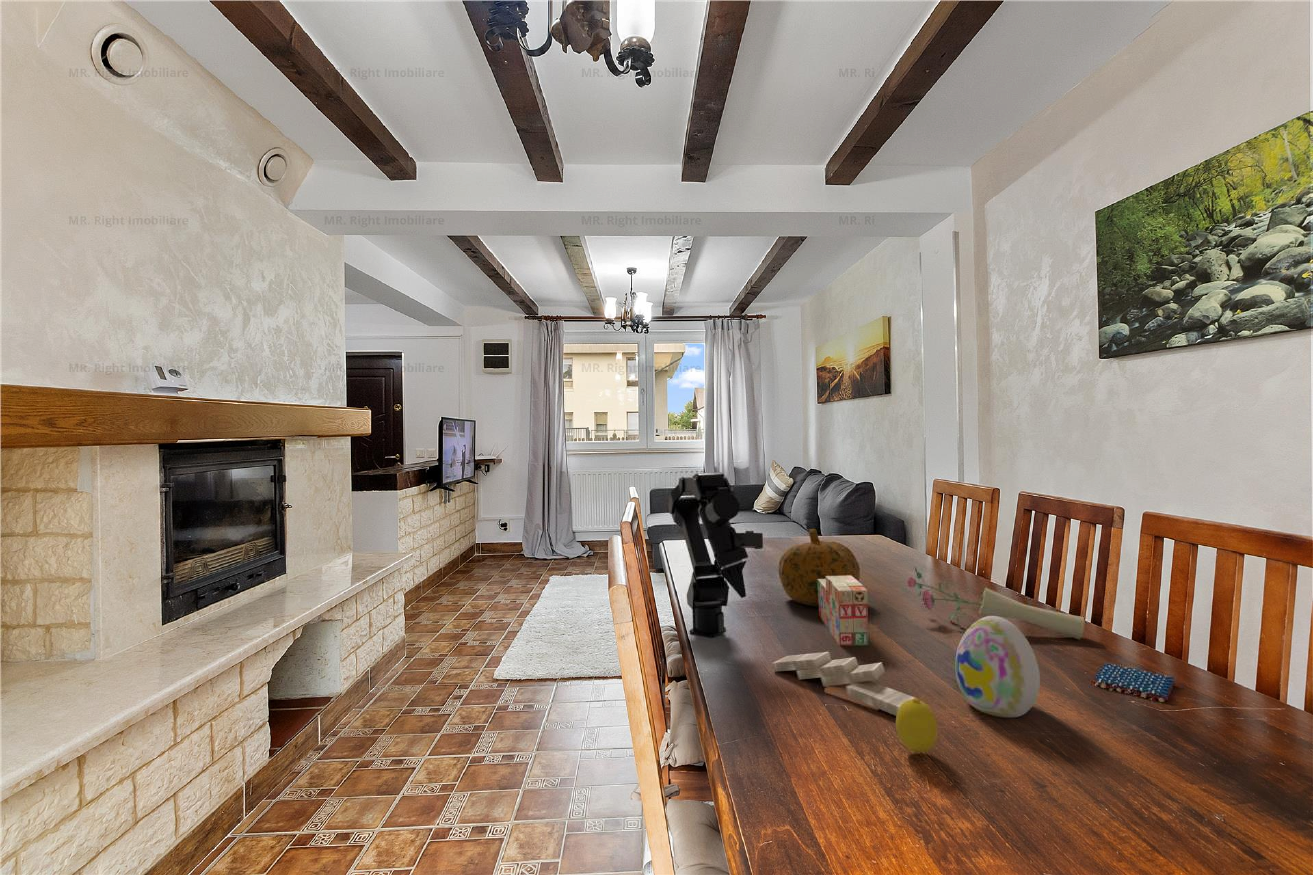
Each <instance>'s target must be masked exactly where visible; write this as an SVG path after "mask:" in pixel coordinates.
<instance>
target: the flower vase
mask: <svg viewBox="0 0 1313 875" xmlns="http://www.w3.org/2000/svg"><path fill="white" fill-rule="evenodd" d="M914 570H915V573H916V578H917V579H918V580H920V579H922V581H923V583H919V582H917V581H916V578H915V577H912V576H910V577H908V578H907V579H908V580H907V583H906V585H907V586H908V587H909V589H912V588H918V590H919V593H918V595H917V596H918V597H921V596H922V598H921V599H922V601H923V605H924V607H925V608H926V609H927V610H929V611H930V612H931V611H932V608H933V607H936V605H935V601H945V602H946V603H948V601H949V602H957V606H956V611H955V613H952V614H951V616H950V620H949V622H951V621H952V619H954V618H955V617H956V622H957V624H958V628H961V627H960V623H959V621H960V620H961V618H962V617H963V616H964V615H966V614H968V612H967V613H966V612H965V613H962V615H961V616H960V615H957V614H960V613H961V610H963V609H965V607H964V606H962V607H961V605H960V603H964V604H965V606H967V605H969V604H970V605H977V606H976V607H973V610H972V611H971V612H969V613H970V614H971V613H972V612H974V611H975V609H976V608H978V607H979V615H986V616H998V617H1001V618H1005V619H1006V618H1008V619H1015V620H1021V621H1024V622H1027V623H1030V624H1033V625H1036V626H1039V627H1042V628H1045V629H1049V630H1052V631H1054V632H1057V633H1060V634H1062V635H1065V636H1067V637H1070V638H1073V639H1075V640H1078V641H1079V640H1081V638H1082V636H1083V635H1084V634H1083V633H1084V631H1085V625H1086V624H1085V618H1084V616H1079V615H1073V614H1068V613H1063V612H1058V611H1054V610H1049V609H1045V608H1040V607H1036V606H1032V605H1027V604H1025V603H1022V602H1019V601H1017V600H1014V599H1012V598H1010V597H1008V596H1005V595H1003V594H1002V593H1000V592H996V591H995V590H992V589H989V588H988V587H985V588H984V591H983V593H982V595H981V598H980V603H979V602H972V601H968V600H965V599H964V598H960V597H961V595H960V594H958V593H957V592H955V591H953V595H952V594H950V593H949V592H950V590H949V589H948V588H949V580H947V581H946V584H945V586H946V589H947V590H948V593H947V592H944V591H943V590H942V584H941V581H939V583H938V588H935V587H932V586H929V585H926V584H924V583H925V581H924V580H925V579H924V577H923V576H922V573H921V572H920V571H918V570H917V567H916V566H914ZM915 586H916V587H915ZM923 586H925V587H928V588H930V589H928V588H924V591H921V589H923ZM930 590H936V591H938V592H940V593H943V594H945V595H947V596H948V597H949V598H947V597H945V596H943V597H944V598H934V596H933V592H930ZM959 596H960V597H959ZM957 612H958V613H957Z"/></svg>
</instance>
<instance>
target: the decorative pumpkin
mask: <svg viewBox="0 0 1313 875" xmlns="http://www.w3.org/2000/svg"><path fill="white" fill-rule="evenodd" d="M808 534H809V538H810V542H804V543H802V544H797V545H794V546H791V547H790V548H788V549H787V550H786V551H785V552H784V553H783V554H782V555H781V556H780V558H779V562H778V564H779V565H778V576H779V579H780V584H781V585H782V588H783V590H784V591H785V593H786V595H787V596H788V597H789V598H790V599H792V600H793V601H795V602H797V603H799V604H803V605H806V606H811V607H819V603H818V587H817V579H826V576H848V575H851V576H852V577H854V578H855V579H856V580H857V581H858V582H860V576H861V572H860V569H861V568H860V565H859V562H858V561H857V557H856V556H855V555H854V552H852V550H851V549H849V548H848V547H847V546H846V545H844V544H842V543H839V542H836V541H826V540H820V539H819V534H818V531H817V529H815V528H811V529H809V530H808Z"/></svg>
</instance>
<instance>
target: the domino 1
mask: <svg viewBox="0 0 1313 875" xmlns="http://www.w3.org/2000/svg"><path fill="white" fill-rule="evenodd" d="M831 660H832V658H831V654H830V652H829V651H823V652H814V653H801V654H792V655H786V656H784V657H782V658H780V659H778V660H776V661H774V662H772V663H771V665H772V667H773V670H774V672H786V671H797V670H801V669H815V668H818V667H820V666H822V665H824V664H826V663H828V662H829V661H831Z"/></svg>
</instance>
